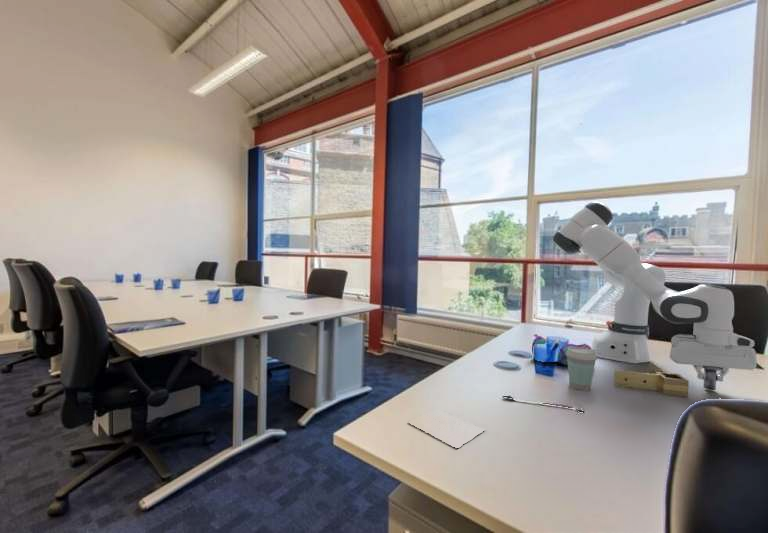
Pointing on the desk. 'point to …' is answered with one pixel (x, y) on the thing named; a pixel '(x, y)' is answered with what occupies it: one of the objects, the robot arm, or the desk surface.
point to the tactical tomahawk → (552, 404)
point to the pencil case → (562, 354)
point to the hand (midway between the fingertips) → (709, 379)
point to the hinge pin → (710, 377)
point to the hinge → (653, 380)
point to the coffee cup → (580, 367)
